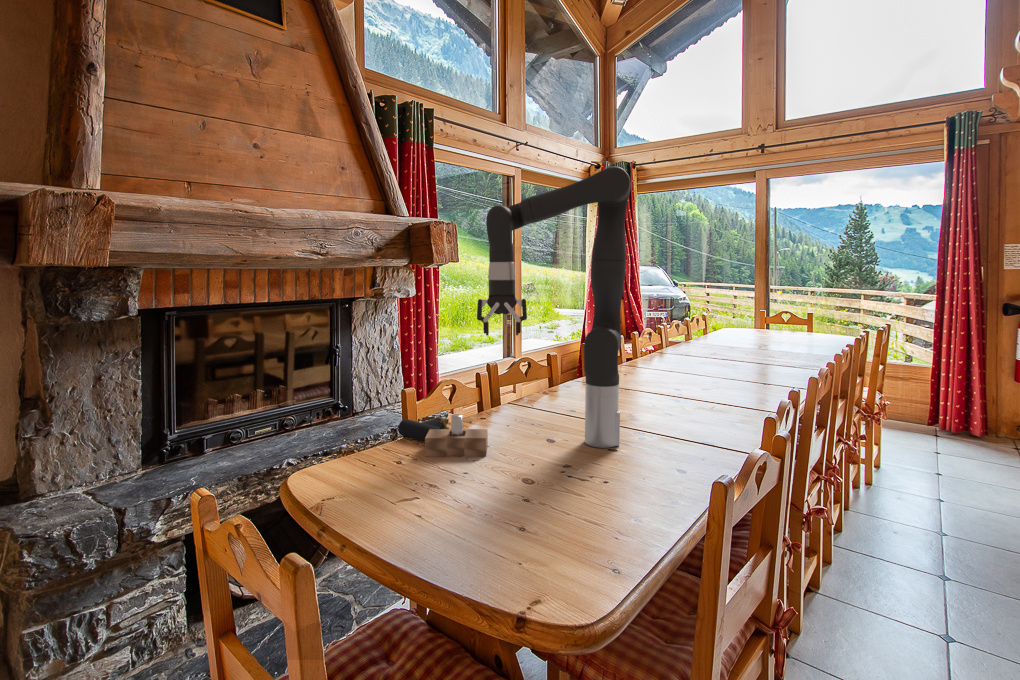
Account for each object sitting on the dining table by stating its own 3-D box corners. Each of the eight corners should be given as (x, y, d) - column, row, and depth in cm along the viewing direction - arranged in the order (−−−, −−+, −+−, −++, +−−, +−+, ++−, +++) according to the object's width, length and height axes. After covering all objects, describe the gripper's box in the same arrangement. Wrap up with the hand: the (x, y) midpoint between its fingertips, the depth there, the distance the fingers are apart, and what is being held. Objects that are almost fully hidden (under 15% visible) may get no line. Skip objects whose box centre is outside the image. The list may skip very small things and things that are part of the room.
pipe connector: (426, 411, 167) (461, 420, 157) (427, 428, 168) (462, 437, 158) (397, 420, 158) (432, 430, 149) (398, 438, 159) (433, 448, 149)
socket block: (487, 446, 149) (487, 429, 148) (486, 456, 141) (485, 438, 141) (430, 446, 149) (429, 429, 149) (425, 456, 141) (424, 438, 141)
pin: (463, 449, 147) (463, 414, 145) (462, 453, 144) (461, 417, 143) (452, 449, 147) (452, 414, 146) (451, 453, 144) (450, 417, 143)
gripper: (526, 278, 156) (526, 333, 158) (477, 278, 156) (478, 333, 158) (527, 278, 148) (527, 336, 150) (475, 278, 148) (476, 336, 150)
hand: (502, 335), depth 154 cm, fingers open, 8 cm apart
